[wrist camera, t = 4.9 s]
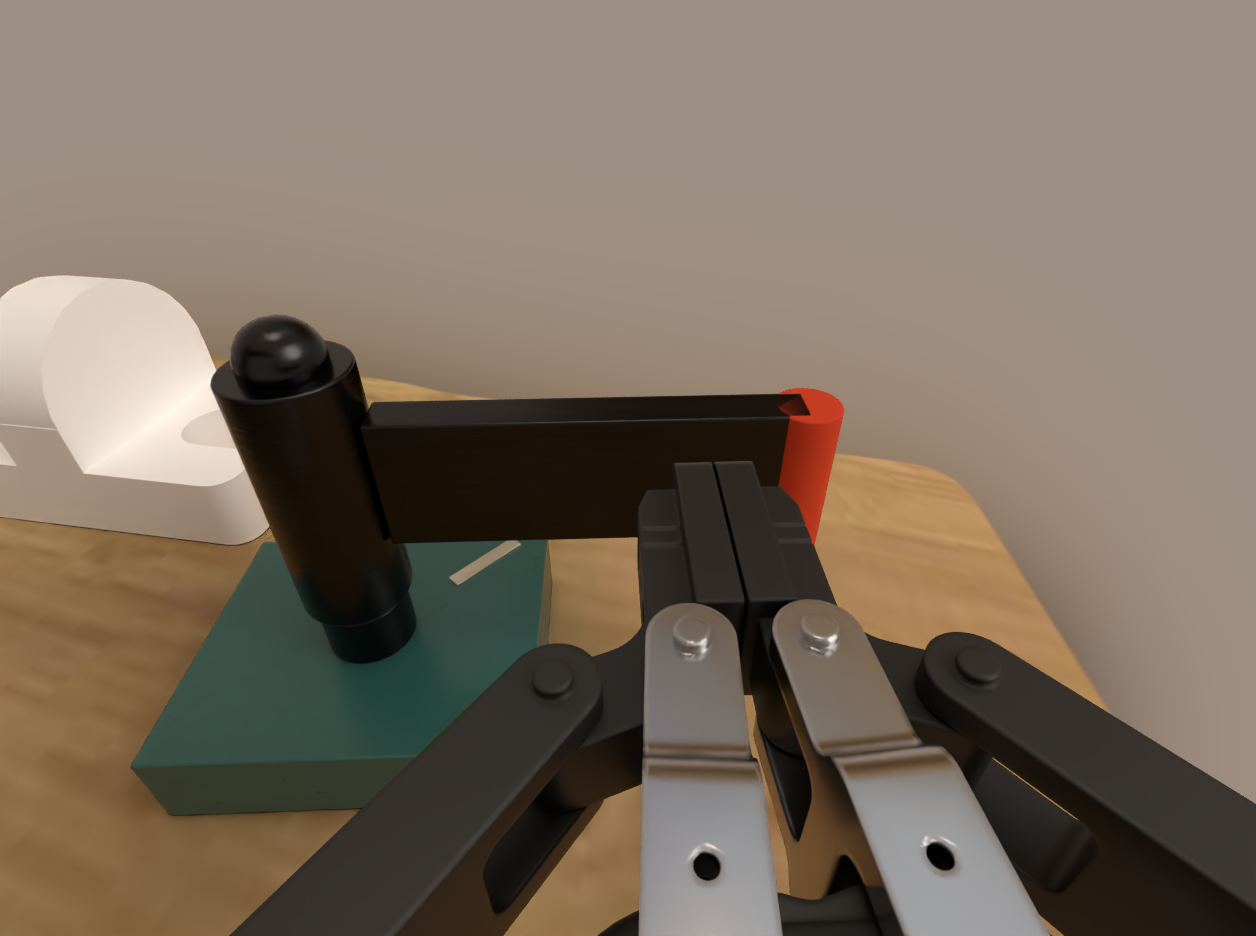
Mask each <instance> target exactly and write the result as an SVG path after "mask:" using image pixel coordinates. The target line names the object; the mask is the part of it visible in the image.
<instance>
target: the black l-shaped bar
mask: <svg viewBox="0 0 1256 936" xmlns="http://www.w3.org/2000/svg"><path fill="white" fill-rule="evenodd" d="M229 359H230V360H229V361H227V362H226V363H225V364H223V365H222V366H221V367H219V368H218V369H217V370H216V372H215V373H214V374H213V376H212V378H211V382H210V386H211V390H212V392H213V395H214V397H215V399H216V402H217V404H218V406H219V409H220V411H221V413H222V416H223V418H224V420H225V423H226V425H227V427H228V430H229V432H230V435H231V437H232V439H233V442H234V444H235V446H236V449H237V451H238V453H239V456H240V458H241V460H242V463H243V465H244V467H245V470H246V472H247V475H248V477H249V479H250V482H251V484H252V486H253V489H254V491H255V493H256V496H257V498H258V500H259V503H260V505H261V507H262V510H263V512H264V515H265V517H266V519H267V522H268V524H269V526H270V529H271V531H272V533H273V536H274V538H275V540H276V543H277V545H278V547H279V550H280V552H281V554H282V557H283V559H284V562H285V564H286V566H287V569H288V571H289V573H290V576H291V578H292V580H293V583H294V585H295V587H296V590H297V592H298V594H299V597H300V599H301V602H302V604H303V606H304V609H305V610H306V612H307V613H308V614H309V615H310V616H311V617H312V618H313V619H315V620H317V621H319V622H321V623H324V624H327V625H333V626H350V625H356V624H360V623H364V622H367V621H370V620H373V619H375V618H377V617H379V616H381V615H383V614H385V613H387V612H388V611H389V610H391V609H392V608H394V607H395V606H396V605H397V604H398V603H399V602H400V601H401V600H402V599H403V598H404V596H405V595H406V594H407V592H408V590H409V588H410V586H411V583H412V578H413V572H412V567H411V563H410V560H409V556H408V552H407V549H406V545H405V543H442V542H479V541H516V540H554V539H591V538H629V537H638V507H639V505H640V503H641V501H642V499H643V497H644V496H645V494H646V492H647V490H668V489H671V483H672V466H673V463H699V462H711V463H712V464H713V462H732V461H752V462H753V464H754V467H755V470H756V473H757V476H758V479H759V483H760V486H761V487H775V486H780V487H781V488H782V489H783V490H784V491H785V492H786V493H788V494H789V495H790V496H791V497H792V498H793V499H794V500H795V501H796V502H797V503H798V505H799V508H800V511H801V513H802V516H803V518H804V521H805V527H807V529H808V531H809V534H810V537H811V542H812V543H813V545H814V544H815V540H816V536H817V531H818V527H819V522H820V518H821V513H822V509H823V504H824V500H825V495H826V491H827V486H828V482H829V477H830V473H831V468H832V464H833V459H834V455H835V450H836V446H837V441H838V437H839V432H840V428H841V423H842V419H843V414H844V408H843V405H842V403H841V402H840V401H839V400H838V399H837V398H835V397H834V396H832V395H830V394H828V393H826V392H823V391H819V390H815V389H808V388H796V389H789V390H786V391H783V392H781V393H780V394H747V395H700V396H654V397H653V396H650V397H603V398H602V397H601V398H552V399H509V400H508V399H504V400H455V401H406V402H373V403H372V404H371V406H370V407H369V408H368V405H367V401H366V397H365V393H364V390H363V386H362V382H361V379H360V375H359V371H358V368H357V364H356V360H355V357H354V355H353V353H352V352H351V351H350V350H349V349H348V348H347V347H345V346H343V345H341V344H338V343H335V342H331V341H325V340H323V339H322V337H321V336H320V334H319V333H318V332H317V331H316V330H315V329H314V328H312V327H311V326H310V325H308V324H307V323H305V322H303V321H302V320H299V319H297V318H294V317H290V316H286V315H268V316H263V317H259V318H256V319H254V320H252V321H250V322H249V323H247V324H246V325H245V326H243V327H242V328H241V329H240V331H239V332H238V333H237V334H236V336H235V338H234V340H233V342H232V344H231V348H230V358H229Z"/></svg>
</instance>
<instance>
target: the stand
mask: <svg viewBox="0 0 1256 936" xmlns="http://www.w3.org/2000/svg"><path fill="white" fill-rule="evenodd" d="M405 545H406V549H407V552H408V556H409V560H410V563H411V567H412V572H413V578H412V583H411V586H410V588H409V590H408V592H407V594H406V595H405V596H404V598H403V599H402V600H401V601H400V602H399V603H398V604H397V605H396V606H395V607H394V608H392V609H391V610H389V611H388V612H387V613H385V614H383V615H381V616H379V617H377V618H375V619H373V620H370V621H367V622H364V623H360V624H356V625H350V626H333V625H327V624H324V623H321V622H319V621H317V620H315V619H313V618H312V617H311V616H310V615H309V614H308V613H307V612H306V610H305V609H304V606H303V604H302V602H301V599H300V597H299V594H298V592H297V590H296V587H295V585H294V583H293V580H292V578H291V576H290V573H289V571H288V569H287V566H286V564H285V562H284V559H283V557H282V554H281V552H280V550H279V547H278V545H277V543H276V542H265V543H263V544H262V546H261V547H260V549H259V551H258V552H257V554H256V556H255V557H254V559H253V561H252V563H251V564H250V566H249V568H248V569H247V571H246V573H245V574H244V576H243V578H242V579H241V581H240V583H239V584H238V586H237V588H236V589H235V591H234V593H233V594H232V596H231V598H230V600H229V601H228V603H227V605H226V606H225V608H224V610H223V611H222V613H221V615H220V616H219V618H218V620H217V621H216V623H215V625H214V626H213V628H212V630H211V632H210V633H209V635H208V637H207V638H206V640H205V642H204V643H203V645H202V647H201V648H200V650H199V652H198V653H197V655H196V657H195V658H194V660H193V662H192V663H191V665H190V667H189V669H188V670H187V672H186V674H185V675H184V677H183V679H182V680H181V682H180V684H179V685H178V687H177V689H176V690H175V692H174V694H173V695H172V697H171V699H170V700H169V702H168V704H167V706H166V707H165V709H164V711H163V712H162V714H161V716H160V717H159V719H158V721H157V722H156V724H155V726H154V727H153V729H152V731H151V732H150V734H149V736H148V737H147V739H146V741H145V743H144V744H143V746H142V748H141V749H140V751H139V753H138V754H137V756H136V758H135V759H134V761H133V763H132V764H131V769H132V770H133V771H134V772H135V773H136V775H137V776H138V777H139V778H140V780H141V781H142V782H143V783H144V784H145V786H146V787H147V788H148V789H149V790H150V792H151V793H152V794H153V795H154V797H155V798H156V799H157V800H158V801H159V803H160V804H161V805H162V806H163V807H164V809H165V810H166V811H167V812H168V814H169V815H194V814H220V813H247V812H273V811H299V810H325V809H351V808H363V807H364V806H365V805H366V804H367V803H368V802H369V801H370V800H371V799H372V798H373V797H374V796H375V795H377V794H378V793H379V792H380V791H381V790H382V789H383V788H384V787H385V786H386V785H387V784H388V783H389V782H390V781H391V780H392V779H393V778H394V777H395V776H396V775H397V774H398V773H399V772H400V771H402V770H403V769H404V768H405V767H406V766H407V765H408V764H409V763H410V762H411V761H412V760H413V759H414V758H415V757H416V756H417V755H418V754H419V753H420V752H421V751H422V750H423V749H424V748H426V747H427V746H428V745H429V744H430V743H431V742H432V741H433V740H434V739H435V738H436V737H437V736H438V735H439V734H440V733H441V732H442V731H443V730H444V729H445V728H446V727H447V726H448V725H450V724H451V723H452V722H453V721H454V720H455V719H456V718H457V717H458V716H459V715H460V714H461V713H462V712H463V711H464V710H465V709H466V708H467V707H468V706H469V705H470V704H471V703H472V702H474V701H475V700H476V699H477V698H478V697H479V696H480V695H481V694H482V693H483V692H484V691H485V690H486V689H487V688H488V687H489V686H490V685H491V684H492V683H493V682H494V681H495V680H496V679H498V678H499V677H500V676H501V675H502V674H503V673H504V672H505V671H506V670H507V669H508V668H509V667H510V666H511V665H512V664H513V663H514V662H515V661H516V660H517V659H518V658H520V657H521V656H522V655H523V654H525V653H527V652H528V651H530V650H532V649H534V648H537V647H539V646H543V645H547V644H548V634H549V620H550V607H551V593H552V576H551V566H550V556H549V545H548V540H516V541H479V542H442V543H405Z"/></svg>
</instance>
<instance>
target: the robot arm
mask: <svg viewBox="0 0 1256 936" xmlns="http://www.w3.org/2000/svg"><path fill="white" fill-rule="evenodd" d="M638 579H639V593H640V608H641V623H642V626H641V628H640V630H639V631H638V633H637V634H636V635H635V636H634V637H633V638H632V639H631V640H630V641H628V642H627V643H626V644H624V645H622V646H621V647H619V648H617V649H614V650H612V651H609V652H606V653H603V654H600V655H597V656H594V657H592V656H591V655H590V654H588V653H587V652H585V651H584V650H582V649H580V648H578V647H575V646H572V645H568V644H547V645H543V646H539V647H537V648H534V649H532V650H530V651H528V652H527V653H525V654H523V655H522V656H521V657H520V658H518V659H517V660H516V661H515V662H514V663H513V664H512V665H511V666H510V667H509V668H508V669H507V670H506V671H505V672H504V673H503V674H502V675H501V676H500V677H499V678H498V679H496V680H495V681H494V682H493V683H492V684H491V685H490V686H489V687H488V688H487V689H486V690H485V691H484V692H483V693H482V694H481V695H480V696H479V697H478V698H477V699H476V700H475V701H474V702H472V703H471V704H470V705H469V706H468V707H467V708H466V709H465V710H464V711H463V712H462V713H461V714H460V715H459V716H458V717H457V718H456V719H455V720H454V721H453V722H452V723H451V724H450V725H448V726H447V727H446V728H445V729H444V730H443V731H442V732H441V733H440V734H439V735H438V736H437V737H436V738H435V739H434V740H433V741H432V742H431V743H430V744H429V745H428V746H427V747H426V748H424V749H423V750H422V751H421V752H420V753H419V754H418V755H417V756H416V757H415V758H414V759H413V760H412V761H411V762H410V763H409V764H408V765H407V766H406V767H405V768H404V769H403V770H402V771H400V772H399V773H398V774H397V775H396V776H395V777H394V778H393V779H392V780H391V781H390V782H389V783H388V784H387V785H386V786H385V787H384V788H383V789H382V790H381V791H380V792H379V793H378V794H377V795H375V796H374V797H373V798H372V799H371V800H370V801H369V802H368V803H367V804H366V805H365V806H364V807H363V808H362V809H361V810H360V811H359V812H358V813H357V814H356V815H355V816H354V817H353V818H351V819H350V820H349V821H348V822H347V823H346V824H345V825H344V826H343V827H342V828H341V829H340V830H339V831H338V832H337V833H336V834H335V835H334V836H333V837H332V838H331V839H330V840H329V841H327V842H326V843H325V844H324V845H323V846H322V847H321V848H320V849H319V850H318V851H317V852H316V853H315V854H314V855H313V856H312V857H311V858H310V859H309V860H308V861H307V862H306V863H305V864H303V865H302V866H301V867H300V868H299V869H298V870H297V871H296V872H295V873H294V874H293V875H292V876H291V877H290V878H289V879H288V880H287V881H286V882H285V883H284V884H283V885H282V886H281V887H280V888H278V889H277V890H276V891H275V892H274V893H273V894H272V895H271V896H270V897H269V898H268V899H267V900H266V901H265V902H264V903H263V904H262V905H261V906H260V907H259V908H258V909H257V910H256V911H254V912H253V913H252V914H251V915H250V916H249V917H248V918H247V919H246V920H245V921H244V922H243V923H242V924H241V925H240V926H239V927H238V928H237V929H236V930H235V931H234V932H233V933H232V934H230V935H229V936H503V935H504V934H505V933H506V931H507V930H508V929H509V927H510V926H511V925H512V923H513V922H514V921H515V919H516V918H517V917H518V915H519V914H520V913H521V912H522V910H523V909H524V908H525V906H526V905H527V904H528V902H529V901H530V900H531V898H532V897H533V896H534V894H535V893H536V892H537V890H538V889H539V888H540V886H541V885H542V884H543V882H544V881H545V880H546V878H547V877H548V876H549V875H550V873H551V872H552V871H553V869H554V868H555V867H556V865H557V864H558V863H559V861H560V860H561V859H562V857H563V856H564V855H565V853H566V852H567V851H568V849H569V848H570V847H571V845H572V844H573V843H574V841H575V840H576V839H577V837H578V836H579V835H580V834H581V832H582V831H583V830H584V828H585V827H586V826H587V824H588V823H589V822H590V820H591V819H592V818H593V816H594V815H595V814H596V812H597V811H598V810H599V808H600V806H601V805H602V803H603V801H604V799H606V798H608V797H611V796H613V795H616V794H618V793H621V792H623V791H626V790H628V789H631V788H633V787H636V786H638V785H641V784H642V807H641V852H640V897H639V911H636V912H634V913H632V914H630V915H628V916H626V917H624V918H622V919H621V920H619V921H617V922H615V923H614V924H612V925H611V926H610V927H608V928H607V929H606V930H604V931H603V932H602V933H600V934H599V935H598V936H1052V935H1050V934H1049V932H1048V930H1047V928H1046V927H1045V925H1044V923H1043V921H1042V919H1041V917H1040V916H1042V917H1043V918H1044V919H1045V920H1046V921H1047V922H1049V923H1050V924H1051V925H1052V926H1053V927H1055V928H1056V929H1057V930H1058V931H1059V932H1061V933H1062V934H1063V935H1064V936H1256V804H1255V803H1253V802H1252V801H1250V800H1248V799H1247V798H1245V797H1244V796H1242V795H1240V794H1239V793H1237V792H1235V791H1234V790H1232V789H1231V788H1229V787H1227V786H1226V785H1224V784H1223V783H1221V782H1219V781H1218V780H1216V779H1214V778H1213V777H1211V776H1210V775H1208V774H1206V773H1205V772H1203V771H1201V770H1200V769H1198V768H1197V767H1195V766H1193V765H1192V764H1190V763H1188V762H1187V761H1185V760H1184V759H1182V758H1180V757H1179V756H1177V755H1175V754H1174V753H1172V752H1171V751H1169V750H1168V749H1166V748H1164V747H1163V746H1161V745H1159V744H1158V743H1156V742H1155V741H1153V740H1151V739H1150V738H1148V737H1146V736H1145V735H1143V734H1142V733H1140V732H1138V731H1137V730H1135V729H1134V728H1132V727H1130V726H1129V725H1127V724H1126V723H1124V722H1122V721H1121V720H1119V719H1117V718H1116V717H1114V716H1113V715H1111V714H1109V713H1108V712H1106V711H1105V710H1103V709H1101V708H1100V707H1098V706H1096V705H1095V704H1093V703H1092V702H1090V701H1088V700H1087V699H1085V698H1084V697H1082V696H1080V695H1079V694H1077V693H1075V692H1074V691H1072V690H1071V689H1069V688H1067V687H1066V686H1064V685H1062V684H1061V683H1059V682H1058V681H1056V680H1054V679H1053V678H1051V677H1050V676H1048V675H1046V674H1045V673H1043V672H1041V671H1040V670H1038V669H1037V668H1035V667H1033V666H1032V665H1030V664H1029V663H1027V662H1025V661H1024V660H1022V659H1020V658H1019V657H1017V656H1016V655H1014V654H1012V653H1011V652H1009V651H1008V650H1006V649H1004V648H1003V647H1001V646H999V645H998V644H996V643H994V642H992V641H990V640H988V639H986V638H983V637H981V636H978V635H974V634H970V633H964V632H950V633H945V634H941V635H939V636H937V637H935V638H934V639H932V640H931V641H930V642H929V644H928V645H927V647H926V650H923V649H919V648H915V647H910V646H906V645H902V644H897V643H893V642H889V641H885V640H882V639H879V638H876V637H874V636H871V635H869V634H867V633H865V632H864V631H863V629H862V627H861V626H860V624H859V623H858V622H857V620H856V619H855V618H854V617H853V616H852V615H851V614H849V613H848V612H847V611H845V610H844V609H842V608H840V607H838V606H837V604H836V602H835V599H834V597H833V594H832V591H831V589H830V586H829V584H828V581H827V578H826V576H825V573H824V571H823V568H822V565H821V563H820V560H819V558H818V555H817V552H816V550H815V547H814V545H813V543H812V542H811V537H810V534H809V531H808V529H807V527H805V521H804V518H803V516H802V513H801V511H800V508H799V505H798V503H797V502H796V501H795V500H794V499H793V498H792V497H791V496H790V495H789V494H788V493H786V492H785V491H784V490H783V489H782V488H781V487H780V486H775V487H761V486H760V483H759V479H758V476H757V473H756V470H755V467H754V464H753V462H752V461H732V462H713V464H712V463H711V462H699V463H673V466H672V483H671V489H668V490H647V492H646V494H645V496H644V497H643V499H642V501H641V503H640V505H639V507H638ZM744 695H752V696H753V700H754V705H755V709H756V718H755V724H754V740H755V744H756V747H757V751H758V754H759V758H760V761H761V765H762V768H763V772H764V775H765V779H766V782H767V785H768V789H769V792H770V796H771V799H772V803H773V806H774V810H775V813H776V817H777V820H778V824H779V827H780V830H781V834H782V837H783V841H784V844H785V848H786V853H787V859H788V868H789V887H790V894H791V896H790V895H786V894H782V893H778V892H777V888H776V880H775V872H774V865H773V857H772V849H771V841H770V834H769V826H768V818H767V810H766V803H765V795H764V787H763V780H762V774H761V769H760V765H759V762H758V760H757V759H756V758H753V757H752V754H751V749H750V741H749V733H748V724H747V716H746V708H745V699H744ZM992 758H995V759H996V760H997V761H999V762H1000V763H1002V764H1003V765H1004V766H1006V767H1007V768H1008V769H1010V770H1011V771H1013V772H1014V773H1015V774H1017V775H1018V776H1019V777H1021V778H1022V779H1024V780H1025V781H1026V782H1028V783H1029V784H1030V785H1032V786H1033V787H1034V788H1036V789H1037V790H1039V791H1040V792H1041V793H1043V794H1044V795H1045V796H1047V797H1048V798H1050V799H1051V800H1052V801H1054V802H1055V803H1056V804H1058V805H1059V806H1061V807H1062V808H1063V809H1065V810H1066V811H1067V812H1069V813H1070V814H1072V815H1073V816H1074V817H1076V818H1077V819H1078V820H1077V819H1075V818H1073V817H1072V816H1070V815H1069V814H1068V813H1066V812H1065V811H1063V810H1062V809H1061V808H1059V807H1058V806H1057V805H1055V804H1054V803H1052V802H1051V801H1050V800H1048V799H1047V798H1046V797H1044V796H1043V795H1042V794H1040V793H1039V792H1037V791H1036V790H1035V789H1033V788H1032V787H1031V786H1029V785H1028V784H1026V783H1025V782H1024V781H1022V780H1021V779H1020V778H1018V777H1017V776H1015V775H1014V774H1013V773H1011V772H1010V771H1009V770H1007V769H1006V768H1005V767H1003V766H1002V765H1000V764H999V763H998V762H996V761H995V760H994V759H992ZM1079 820H1080V821H1079ZM1039 915H1040V916H1039Z"/></svg>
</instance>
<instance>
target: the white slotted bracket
mask: <svg viewBox="0 0 1256 936" xmlns="http://www.w3.org/2000/svg"><path fill="white" fill-rule="evenodd" d="M215 372H216V369H215V366H214V364H213V362H212V359H211V357H210V354H209V352H208V349H207V347H206V345H205V342H204V340H203V338H202V336H201V334H200V331H199V329H198V327H197V325H196V324H195V322H194V321H193V320H192V318H191V317H190V315H189V314H188V312H187V311H186V310H185V308H183V307H182V306H181V305H180V304H179V303H178V302H177V301H175V299H173V298H172V297H171V296H170V295H169V294H168V293H166V292H163V291H162V290H160V289H158V288H156V287H154V286H152V285H150V284H147V283H142V282H137V281H131V280H126V279H111V278H96V277H81V276H65V275H59V276H49V277H39V278H35V279H32V280H30V281H27V282H25V283H23V284H20V285H18V286H15V287H13V288H12V289H10V290H9V291H8V292H7V293H6V294H4V295H3V296H2V297H1V298H0V517H5V518H13V519H21V520H30V521H38V522H46V523H54V524H62V525H70V526H79V527H87V528H95V529H103V530H111V531H119V532H128V533H136V534H144V535H152V536H160V537H169V538H177V539H185V540H193V541H201V542H209V543H218V544H226V545H237V544H243V543H246V542H249V541H251V540H254V539H256V538H257V537H259V536H260V535H262V534H263V533H264V532H265V531H266V530H267V529H268V528H269V524H268V522H267V519H266V517H265V515H264V512H263V510H262V507H261V505H260V503H259V500H258V498H257V496H256V493H255V491H254V489H253V486H252V484H251V482H250V479H249V477H248V475H247V472H246V470H245V467H244V465H243V463H242V460H241V458H240V456H239V453H238V451H237V449H236V446H235V444H234V442H233V439H232V437H231V435H230V432H229V430H228V427H227V425H226V423H225V420H224V418H223V416H222V413H221V411H220V409H219V406H218V404H217V402H216V399H215V397H214V395H213V392H212V390H211V386H210V382H211V378H212V376H213V374H214V373H215Z"/></svg>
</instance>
